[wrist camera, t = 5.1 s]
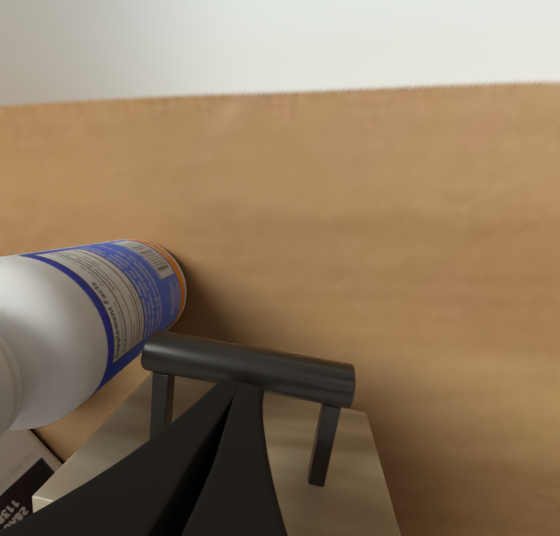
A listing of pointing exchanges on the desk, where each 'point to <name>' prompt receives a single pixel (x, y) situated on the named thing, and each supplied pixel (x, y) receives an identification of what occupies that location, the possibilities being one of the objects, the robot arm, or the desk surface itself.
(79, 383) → the pill bottle
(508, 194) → the desk surface
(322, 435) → the drawer
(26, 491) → the container
